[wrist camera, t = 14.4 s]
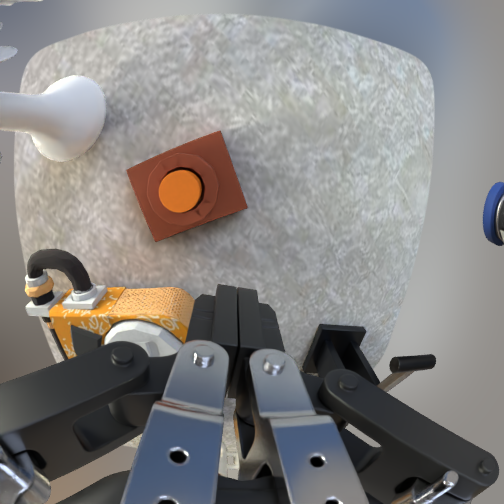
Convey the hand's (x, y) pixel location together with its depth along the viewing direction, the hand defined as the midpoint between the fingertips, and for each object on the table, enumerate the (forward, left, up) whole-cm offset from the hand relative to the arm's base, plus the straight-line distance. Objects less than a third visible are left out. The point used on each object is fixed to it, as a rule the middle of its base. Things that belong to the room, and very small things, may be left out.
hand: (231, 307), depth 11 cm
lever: (-9, +19, -8) cm, 22 cm away
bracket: (-7, +23, -19) cm, 31 cm away
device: (+19, +12, -19) cm, 29 cm away
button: (+3, -4, -16) cm, 16 cm away
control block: (+3, -4, -19) cm, 20 cm away
